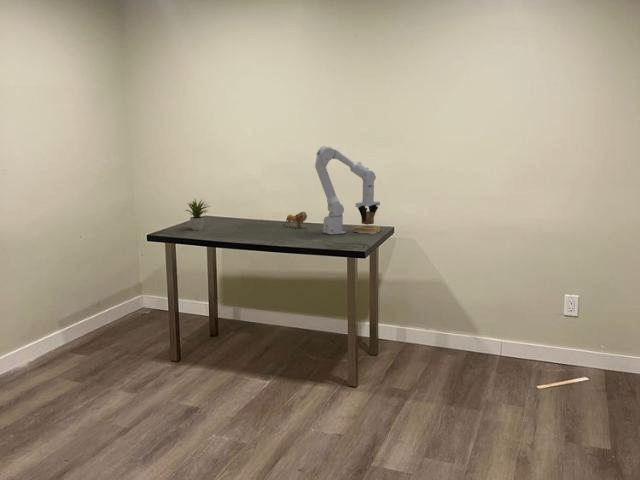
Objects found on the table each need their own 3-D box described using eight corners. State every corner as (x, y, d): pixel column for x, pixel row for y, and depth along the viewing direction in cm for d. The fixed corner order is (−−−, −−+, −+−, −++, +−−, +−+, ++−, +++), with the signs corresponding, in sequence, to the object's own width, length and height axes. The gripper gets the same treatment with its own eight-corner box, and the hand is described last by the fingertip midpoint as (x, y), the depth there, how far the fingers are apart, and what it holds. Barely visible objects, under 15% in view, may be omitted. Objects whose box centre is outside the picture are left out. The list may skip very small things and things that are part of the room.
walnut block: (366, 224, 306) (367, 212, 305) (361, 223, 310) (361, 211, 309) (373, 223, 309) (373, 212, 307) (368, 222, 312) (368, 211, 311)
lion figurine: (308, 227, 321) (308, 211, 319) (304, 229, 316) (304, 212, 315) (285, 225, 328) (285, 209, 326) (280, 227, 323) (280, 210, 321)
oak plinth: (375, 234, 303) (375, 229, 303) (354, 232, 307) (354, 227, 306) (380, 230, 313) (380, 225, 313) (360, 229, 317) (360, 224, 316)
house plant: (204, 232, 305) (203, 200, 302) (179, 231, 308) (178, 199, 305) (215, 228, 319) (214, 197, 316) (190, 227, 321) (189, 196, 318)
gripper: (361, 195, 299) (361, 222, 302) (384, 193, 307) (383, 220, 310) (353, 194, 305) (352, 220, 307) (375, 192, 313) (374, 218, 315)
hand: (367, 220), depth 309 cm, fingers closed on walnut block, 4 cm apart
